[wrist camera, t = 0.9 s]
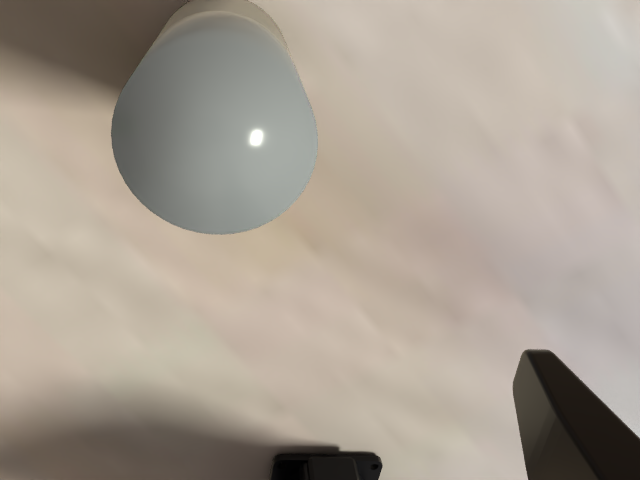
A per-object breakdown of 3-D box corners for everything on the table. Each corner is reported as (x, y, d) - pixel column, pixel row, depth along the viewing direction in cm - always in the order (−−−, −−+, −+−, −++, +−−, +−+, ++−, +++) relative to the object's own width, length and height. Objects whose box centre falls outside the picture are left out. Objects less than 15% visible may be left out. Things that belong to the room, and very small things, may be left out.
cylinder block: (279, 134, 23) (301, 242, 16) (154, 118, 22) (111, 225, 15) (298, 6, 21) (334, 57, 13) (159, -18, 20) (111, 23, 12)
